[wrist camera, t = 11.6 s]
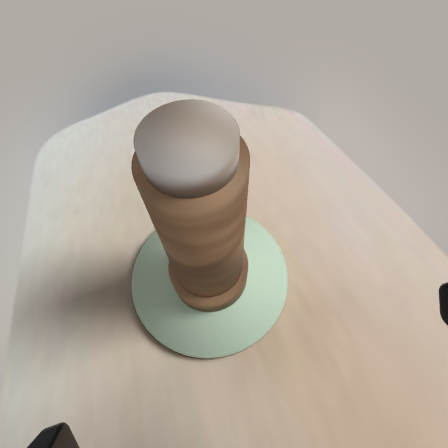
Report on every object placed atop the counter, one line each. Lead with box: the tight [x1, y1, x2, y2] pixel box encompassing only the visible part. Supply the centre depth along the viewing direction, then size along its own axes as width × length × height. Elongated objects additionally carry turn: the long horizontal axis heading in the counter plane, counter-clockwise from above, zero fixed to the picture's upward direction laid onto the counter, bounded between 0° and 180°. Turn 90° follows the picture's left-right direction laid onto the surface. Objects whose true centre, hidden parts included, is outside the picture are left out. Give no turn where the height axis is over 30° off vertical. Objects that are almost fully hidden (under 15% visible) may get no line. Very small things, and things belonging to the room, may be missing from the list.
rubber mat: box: [131, 216, 288, 359], centre depth 22 cm, size 11×11×1 cm
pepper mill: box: [132, 100, 250, 312], centre depth 16 cm, size 5×5×13 cm
